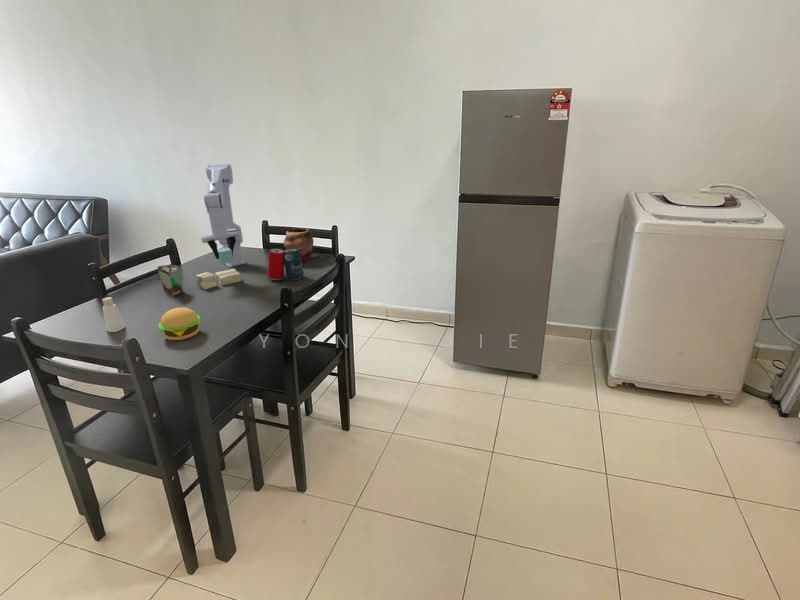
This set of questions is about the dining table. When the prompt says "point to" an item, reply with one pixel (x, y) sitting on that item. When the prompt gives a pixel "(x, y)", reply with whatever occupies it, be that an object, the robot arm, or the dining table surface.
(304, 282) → the dining table surface
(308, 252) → the decorative planter
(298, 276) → the soda can
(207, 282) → the maple cube
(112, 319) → the pepper shaker
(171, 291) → the food container
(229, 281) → the beech base
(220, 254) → the teal cube
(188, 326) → the hamburger
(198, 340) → the dining table surface
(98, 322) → the dining table surface
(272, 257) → the beverage can
